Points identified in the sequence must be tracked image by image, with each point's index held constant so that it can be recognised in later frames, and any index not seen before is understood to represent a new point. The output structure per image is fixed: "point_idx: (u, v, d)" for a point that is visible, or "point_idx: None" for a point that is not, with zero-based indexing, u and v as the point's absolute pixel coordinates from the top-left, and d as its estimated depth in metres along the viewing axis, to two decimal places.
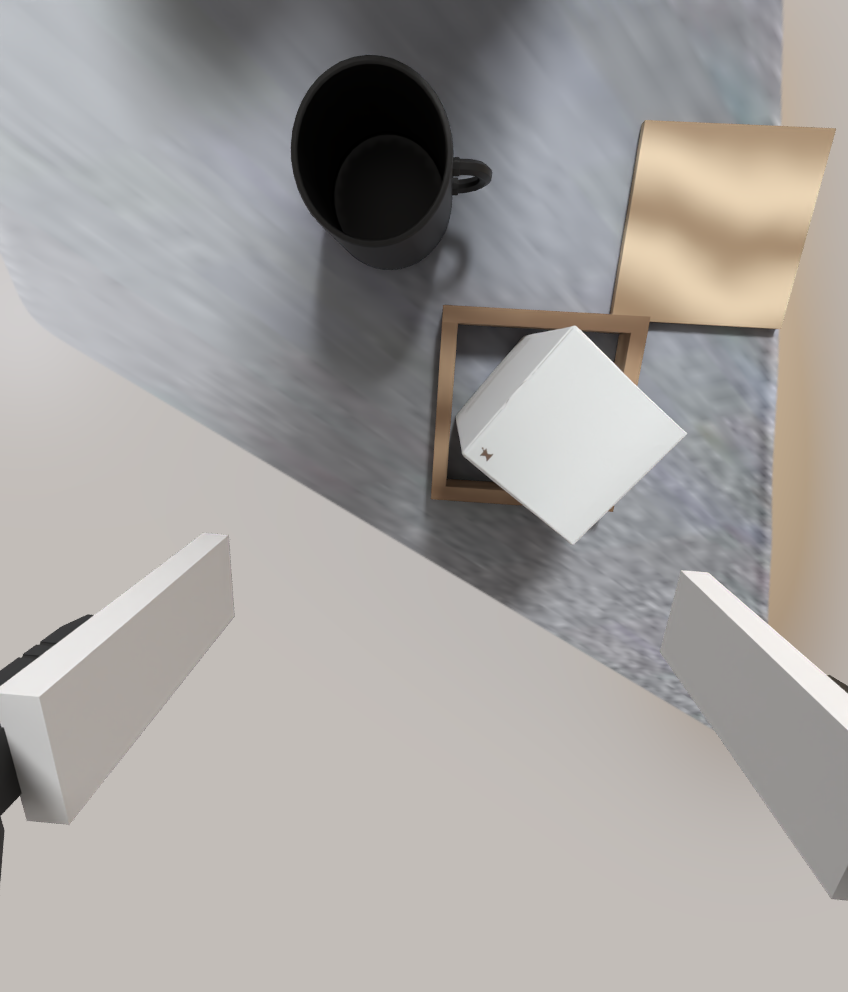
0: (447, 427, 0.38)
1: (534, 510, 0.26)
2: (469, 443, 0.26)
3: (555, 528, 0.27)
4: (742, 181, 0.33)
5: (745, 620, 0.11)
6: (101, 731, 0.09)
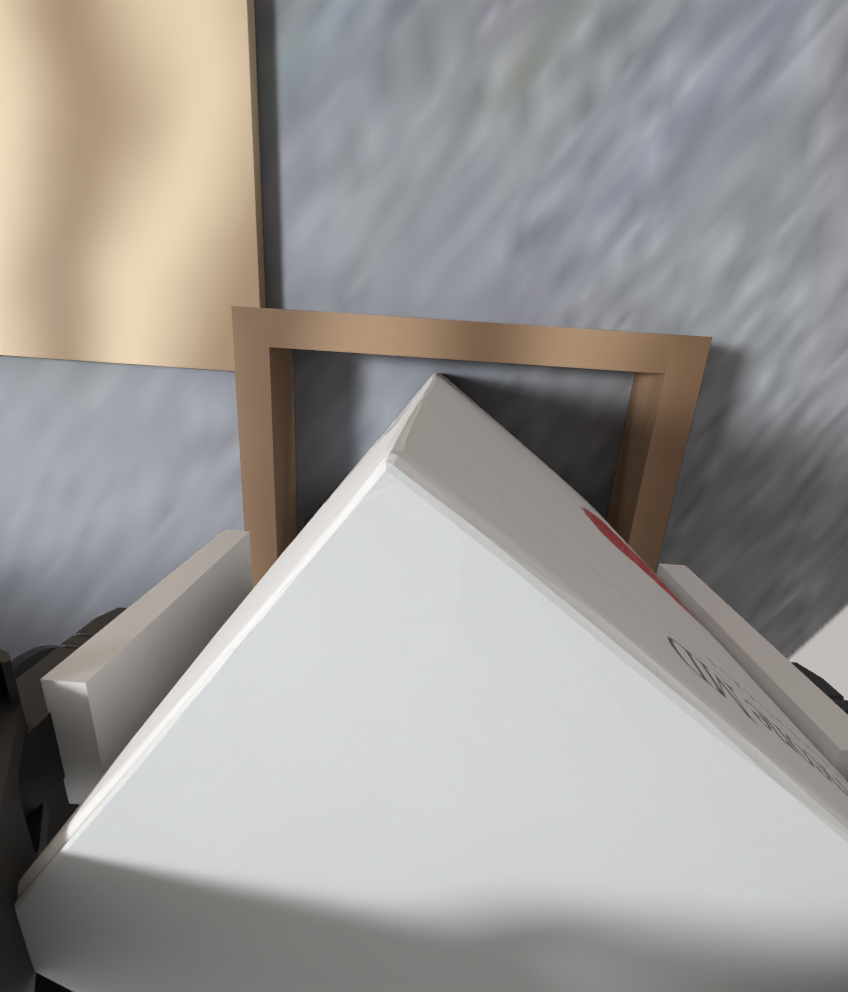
0: None
1: None
2: None
3: None
4: None
5: (716, 610, 0.11)
6: (138, 718, 0.09)
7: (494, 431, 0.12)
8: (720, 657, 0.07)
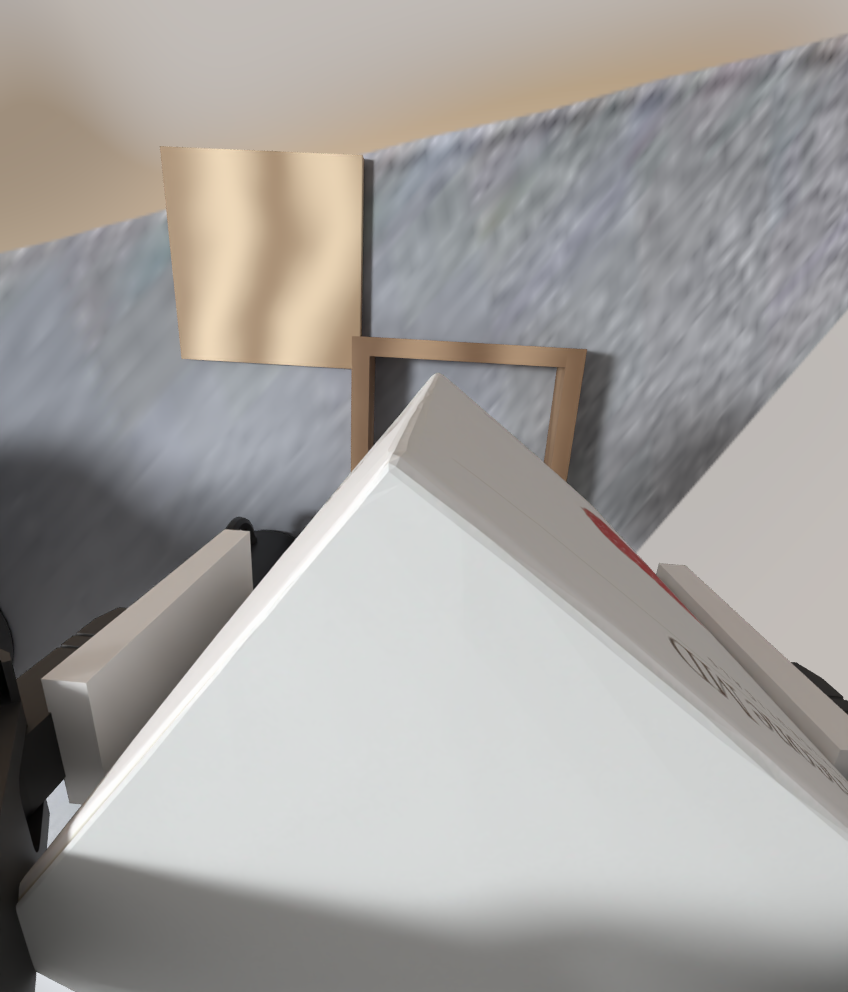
0: None
1: None
2: None
3: None
4: (218, 244, 0.31)
5: (716, 610, 0.11)
6: (138, 718, 0.09)
7: (495, 431, 0.12)
8: (721, 657, 0.07)
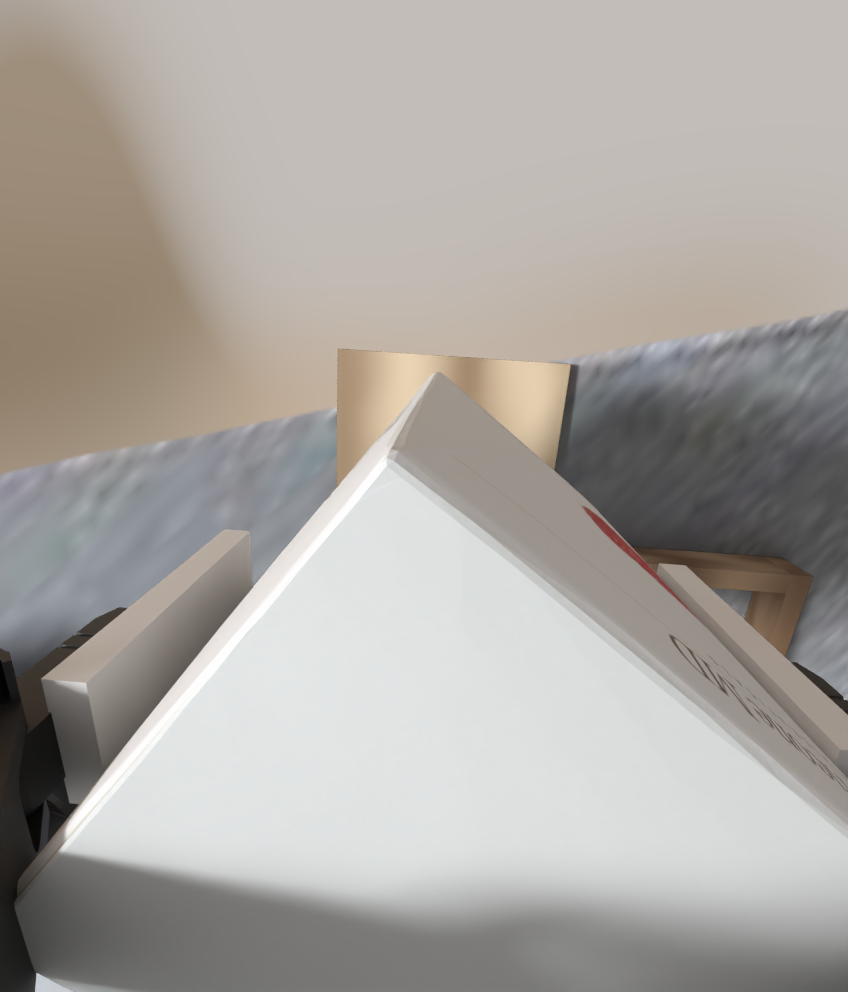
0: None
1: None
2: None
3: None
4: None
5: (716, 610, 0.11)
6: (138, 718, 0.09)
7: (494, 430, 0.12)
8: (721, 655, 0.07)
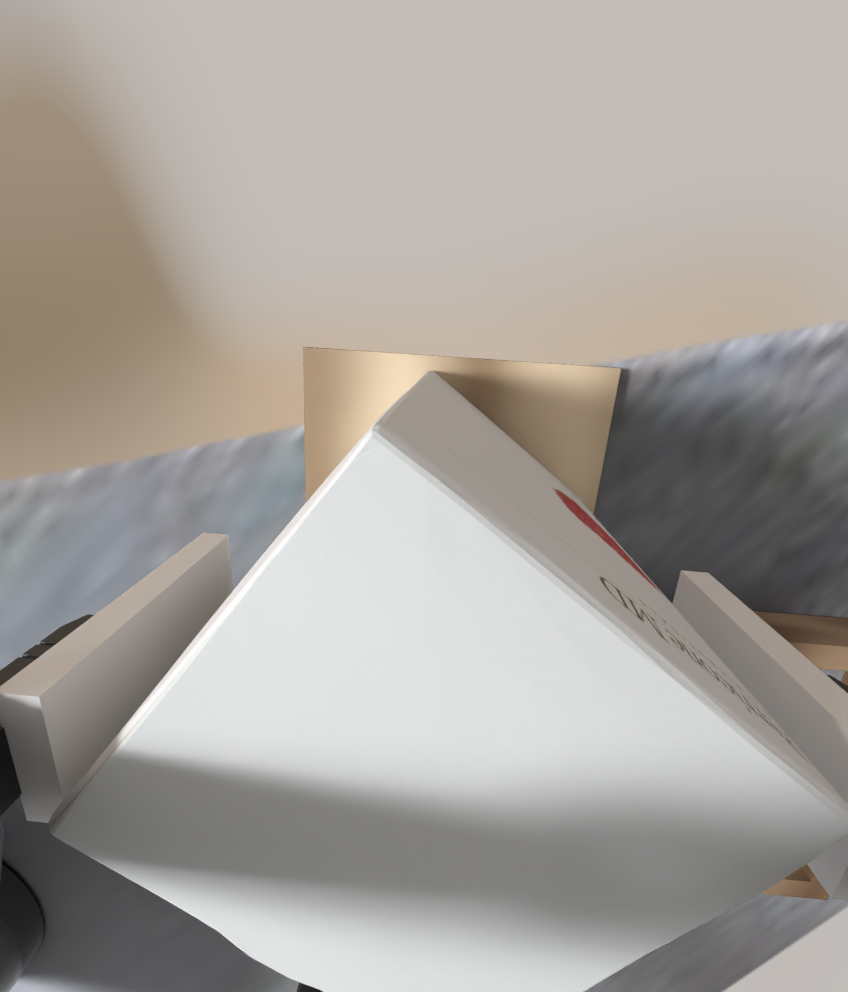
0: None
1: (673, 936, 0.07)
2: None
3: (766, 887, 0.07)
4: None
5: (745, 620, 0.11)
6: (101, 731, 0.09)
7: (477, 422, 0.13)
8: (657, 605, 0.08)
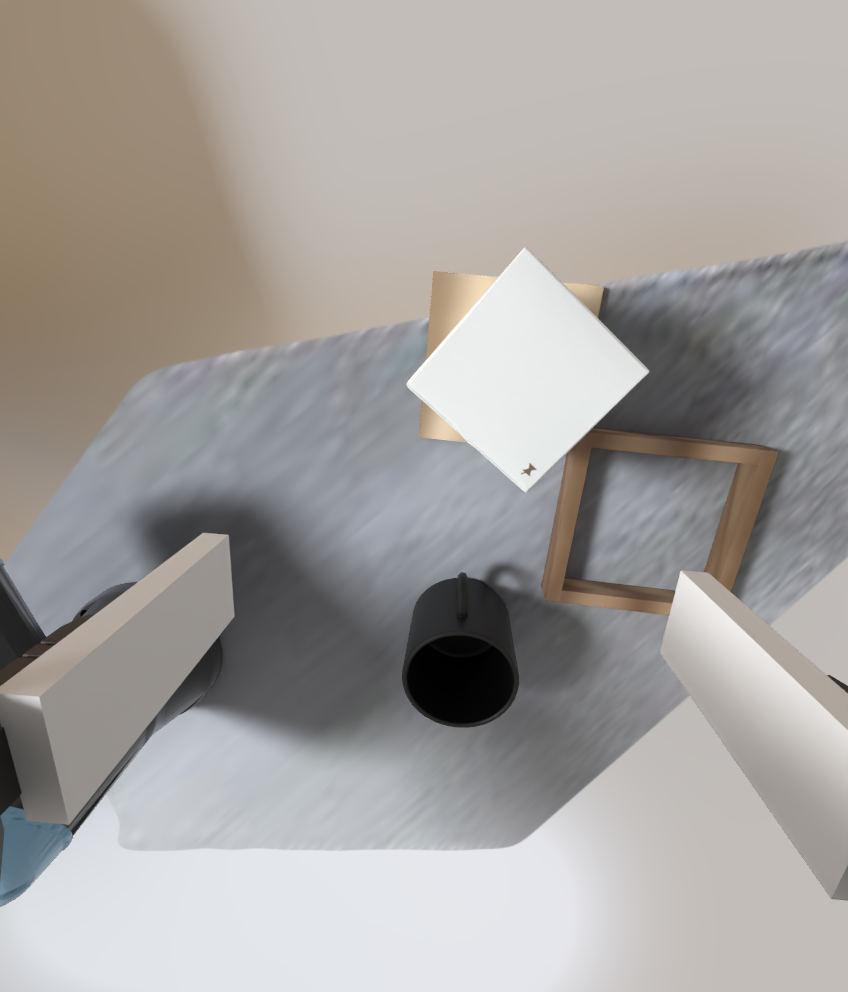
0: (652, 603, 0.41)
1: (598, 418, 0.24)
2: (516, 484, 0.25)
3: (624, 394, 0.23)
4: None
5: (745, 620, 0.11)
6: (101, 731, 0.09)
7: None
8: None
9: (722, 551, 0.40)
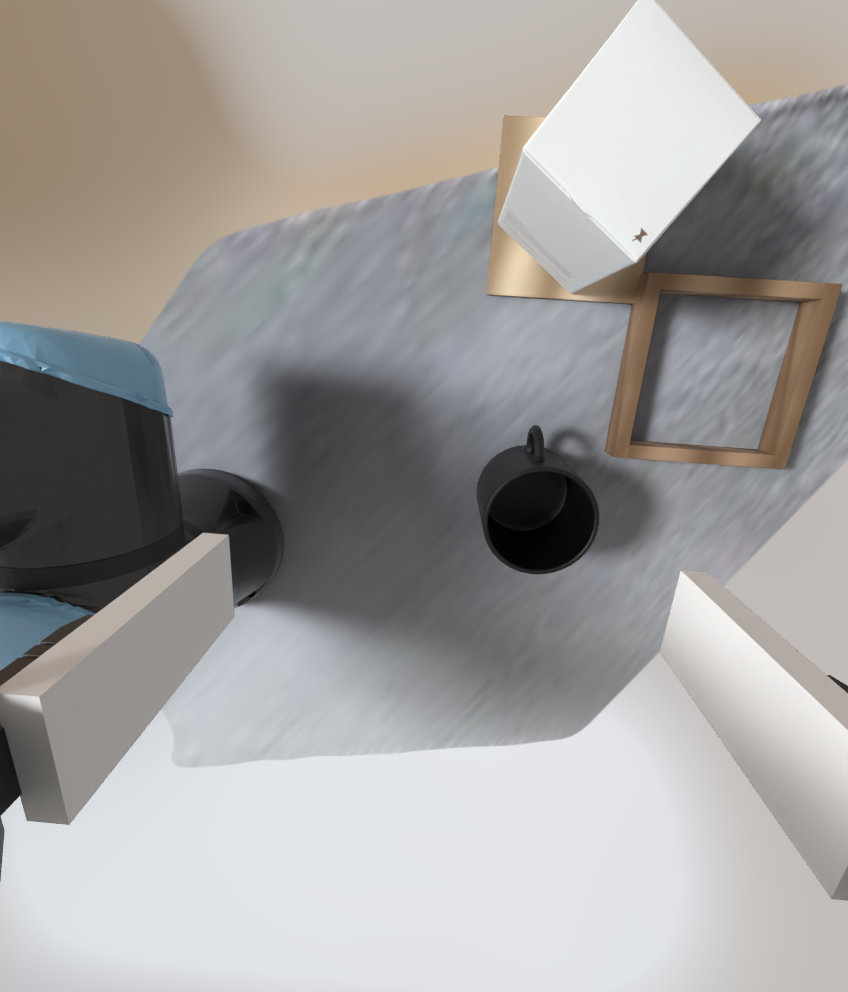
0: (717, 454, 0.42)
1: (710, 174, 0.25)
2: (626, 255, 0.26)
3: (736, 145, 0.24)
4: None
5: (745, 620, 0.11)
6: (101, 731, 0.09)
7: None
8: None
9: (785, 397, 0.41)
